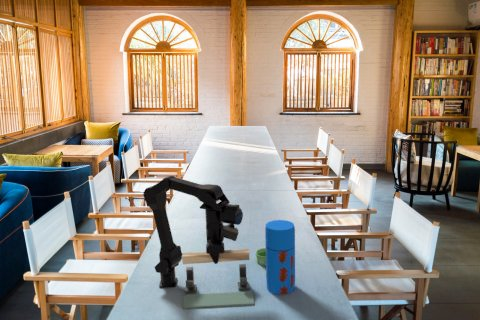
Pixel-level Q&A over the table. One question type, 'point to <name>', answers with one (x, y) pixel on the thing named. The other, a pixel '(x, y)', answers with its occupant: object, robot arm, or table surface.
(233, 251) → the rail
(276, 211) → the table surface
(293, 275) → the thermos
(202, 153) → the table surface
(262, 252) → the ramekin
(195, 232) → the table surface
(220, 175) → the table surface
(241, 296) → the mat
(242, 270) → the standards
